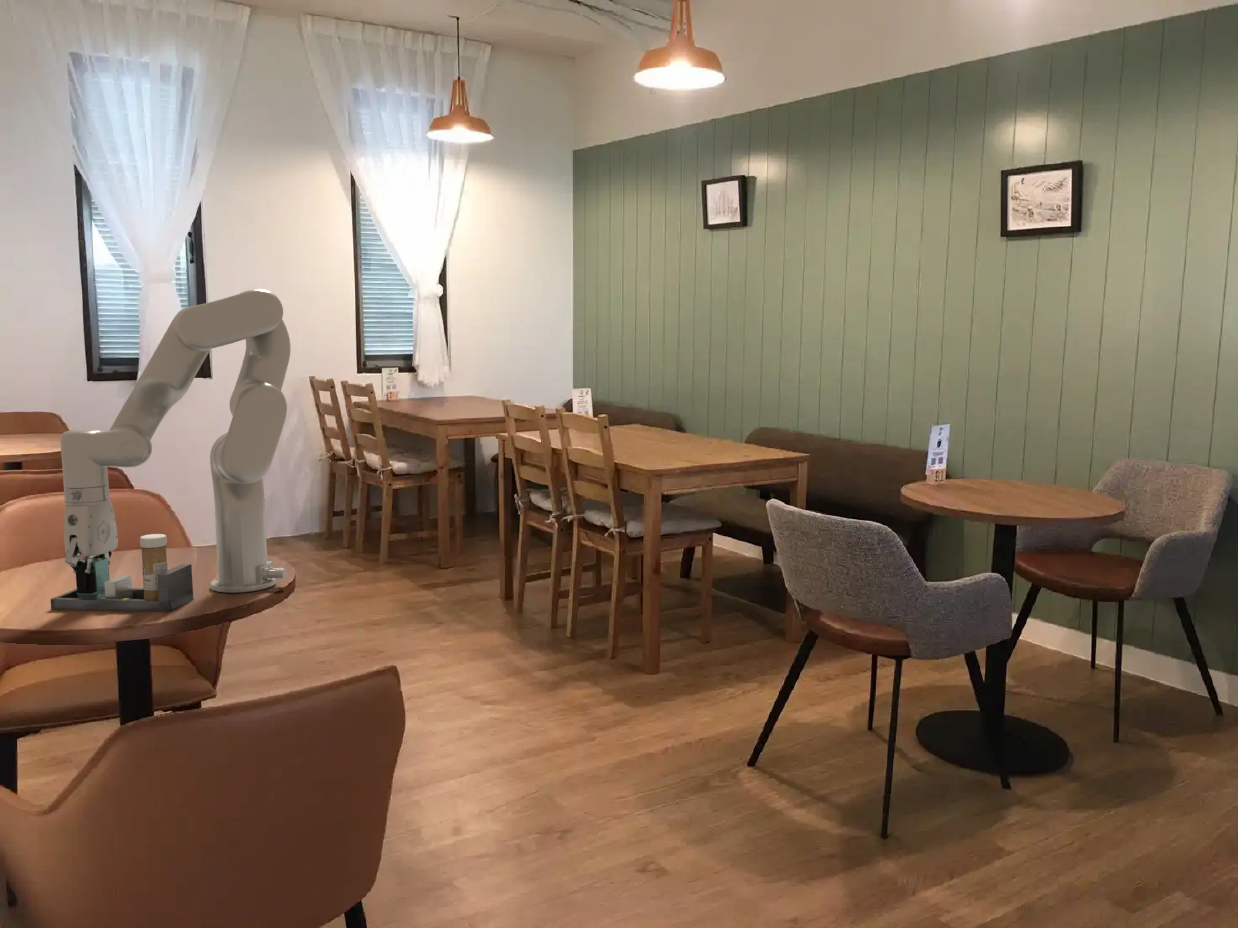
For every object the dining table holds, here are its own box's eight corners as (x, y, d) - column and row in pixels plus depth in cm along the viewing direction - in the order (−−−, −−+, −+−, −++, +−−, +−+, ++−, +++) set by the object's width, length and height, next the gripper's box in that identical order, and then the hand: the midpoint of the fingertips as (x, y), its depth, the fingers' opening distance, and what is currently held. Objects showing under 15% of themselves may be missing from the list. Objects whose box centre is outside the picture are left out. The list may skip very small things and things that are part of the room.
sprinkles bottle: (139, 605, 191) (135, 535, 189) (163, 600, 194) (159, 532, 193) (150, 609, 188) (146, 538, 186) (174, 604, 191) (170, 535, 190)
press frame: (193, 599, 195) (191, 564, 194) (169, 611, 186) (166, 574, 185) (80, 597, 197) (78, 562, 196) (51, 609, 188) (48, 572, 187)
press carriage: (133, 597, 195) (130, 557, 194) (115, 606, 189) (112, 564, 188) (93, 597, 195) (90, 556, 194) (74, 605, 189) (71, 563, 188)
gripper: (78, 502, 181) (85, 601, 183) (131, 488, 197) (137, 579, 200) (39, 502, 182) (46, 601, 184) (94, 488, 198) (101, 579, 200)
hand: (93, 589), depth 192 cm, fingers closed on press carriage, 4 cm apart
